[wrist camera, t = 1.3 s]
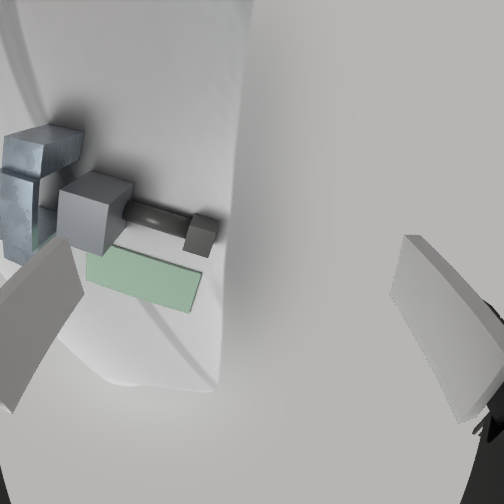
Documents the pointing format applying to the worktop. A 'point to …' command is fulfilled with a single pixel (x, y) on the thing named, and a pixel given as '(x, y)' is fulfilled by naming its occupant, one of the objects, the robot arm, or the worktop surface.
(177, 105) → the worktop surface
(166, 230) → the plug
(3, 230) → the housing
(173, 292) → the mat
